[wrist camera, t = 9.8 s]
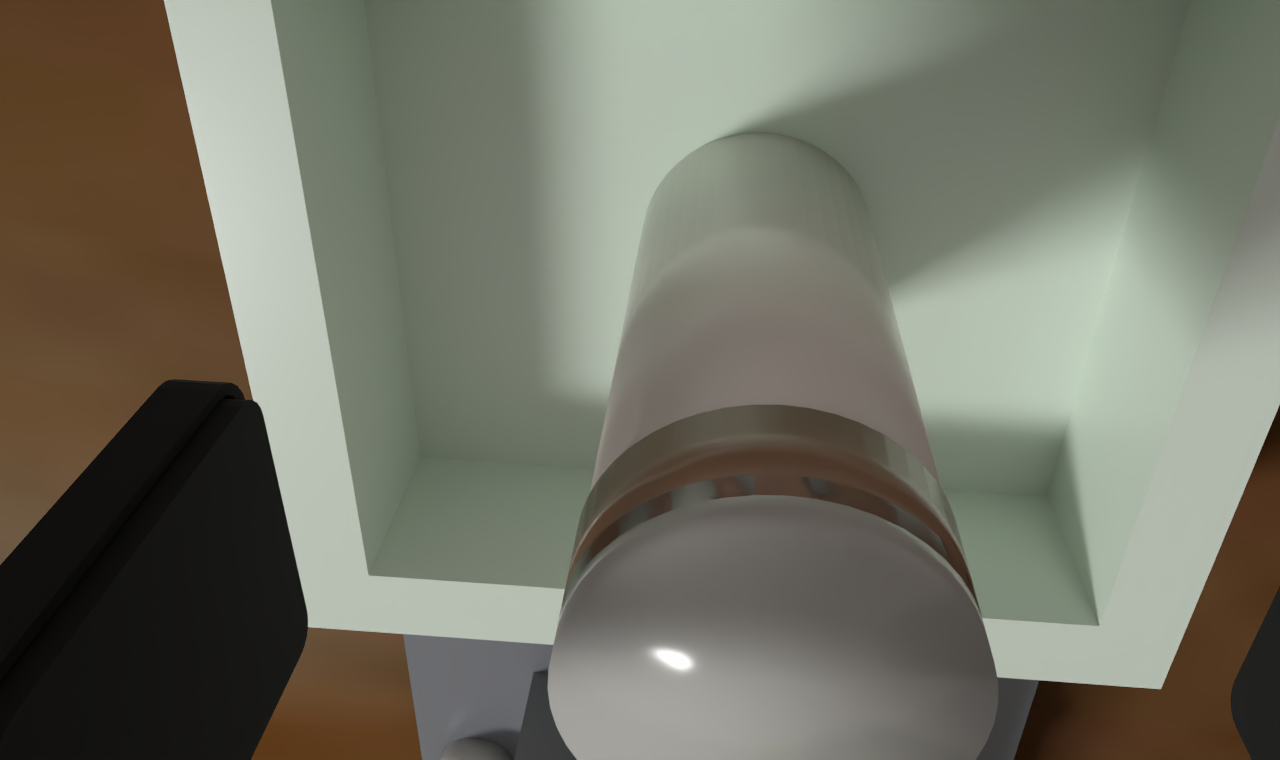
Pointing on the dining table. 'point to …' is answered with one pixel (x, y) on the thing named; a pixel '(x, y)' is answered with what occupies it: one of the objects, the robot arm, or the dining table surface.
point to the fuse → (766, 496)
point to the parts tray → (608, 245)
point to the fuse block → (520, 710)
